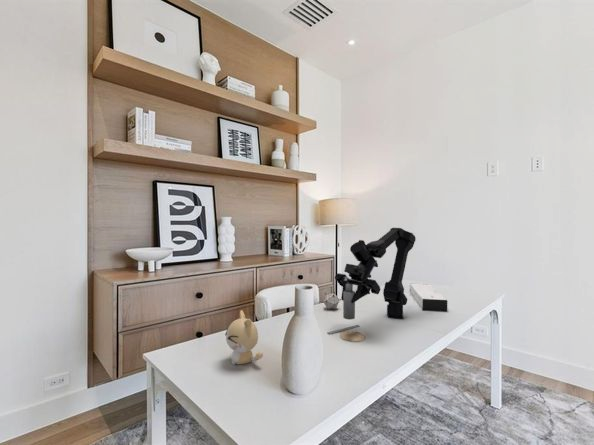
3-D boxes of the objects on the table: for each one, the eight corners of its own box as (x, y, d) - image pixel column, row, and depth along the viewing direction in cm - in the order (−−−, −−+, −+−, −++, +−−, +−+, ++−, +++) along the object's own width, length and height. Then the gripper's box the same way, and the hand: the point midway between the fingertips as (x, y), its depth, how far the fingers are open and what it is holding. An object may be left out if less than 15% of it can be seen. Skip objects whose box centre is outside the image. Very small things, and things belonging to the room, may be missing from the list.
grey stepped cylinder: (353, 315, 124) (353, 282, 124) (356, 319, 120) (356, 285, 119) (342, 315, 124) (342, 282, 123) (344, 319, 119) (344, 285, 119)
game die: (334, 317, 154) (340, 304, 148) (318, 310, 155) (323, 297, 149) (338, 304, 161) (344, 291, 155) (323, 297, 162) (328, 284, 156)
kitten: (221, 354, 105) (221, 309, 105) (250, 349, 109) (250, 306, 109) (231, 375, 92) (230, 324, 91) (264, 368, 96) (264, 319, 95)
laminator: (447, 313, 150) (447, 300, 150) (420, 311, 153) (420, 298, 152) (429, 294, 184) (429, 284, 184) (407, 293, 186) (407, 283, 186)
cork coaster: (367, 333, 124) (367, 332, 124) (365, 343, 114) (365, 342, 114) (341, 330, 127) (341, 329, 127) (337, 340, 117) (337, 338, 117)
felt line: (357, 325, 132) (357, 324, 132) (359, 326, 131) (359, 325, 131) (327, 333, 124) (327, 332, 124) (329, 334, 122) (329, 333, 122)
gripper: (337, 253, 130) (318, 284, 123) (376, 258, 117) (357, 293, 110) (349, 270, 136) (332, 300, 129) (387, 277, 122) (370, 311, 115)
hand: (346, 301), depth 121 cm, fingers closed on grey stepped cylinder, 4 cm apart
